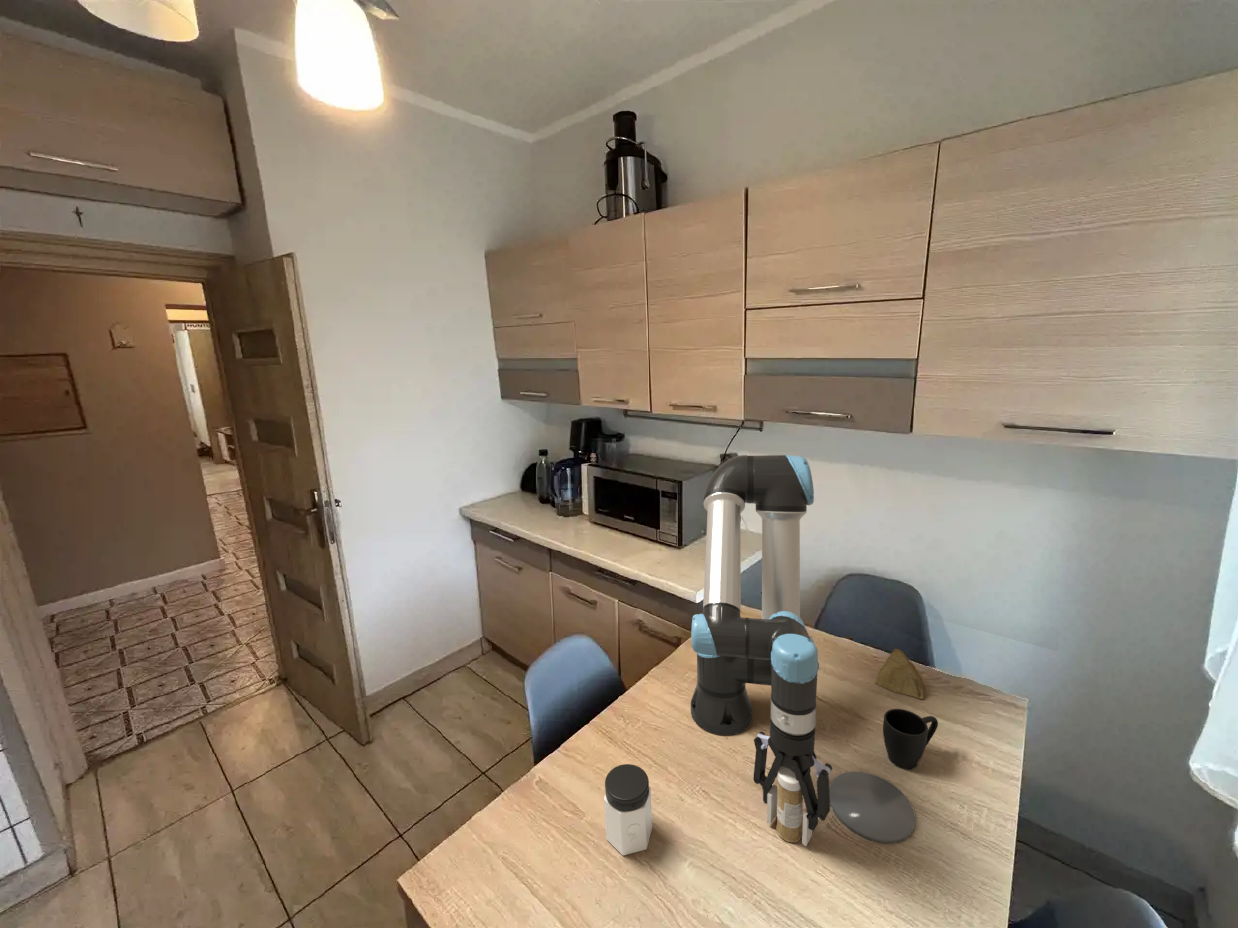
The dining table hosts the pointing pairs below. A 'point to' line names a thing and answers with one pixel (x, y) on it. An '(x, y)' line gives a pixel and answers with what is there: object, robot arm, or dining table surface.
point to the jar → (628, 808)
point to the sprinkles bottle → (789, 806)
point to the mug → (906, 736)
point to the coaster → (872, 807)
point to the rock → (901, 676)
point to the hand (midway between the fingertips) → (789, 828)
